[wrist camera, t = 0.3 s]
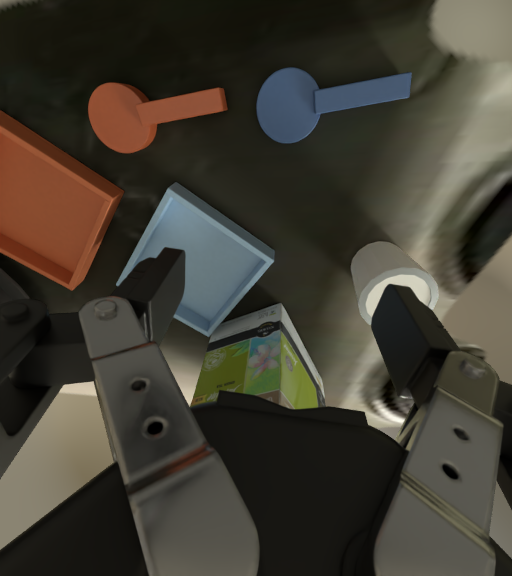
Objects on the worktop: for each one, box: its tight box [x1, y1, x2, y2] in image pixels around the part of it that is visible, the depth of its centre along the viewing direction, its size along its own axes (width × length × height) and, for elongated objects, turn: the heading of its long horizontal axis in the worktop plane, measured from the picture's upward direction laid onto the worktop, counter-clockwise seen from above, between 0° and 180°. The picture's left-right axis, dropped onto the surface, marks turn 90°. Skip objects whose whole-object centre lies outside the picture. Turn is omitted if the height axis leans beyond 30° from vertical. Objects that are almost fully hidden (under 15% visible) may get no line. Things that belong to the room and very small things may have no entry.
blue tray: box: [116, 182, 274, 337], centre depth 33 cm, size 13×12×2 cm
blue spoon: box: [256, 67, 411, 143], centre depth 24 cm, size 12×5×2 cm, turn 100°
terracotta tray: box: [0, 110, 124, 290], centre depth 31 cm, size 13×12×2 cm
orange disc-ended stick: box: [88, 83, 228, 153], centre depth 25 cm, size 12×5×2 cm, turn 100°
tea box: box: [190, 303, 326, 409], centre depth 35 cm, size 15×10×15 cm
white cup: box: [350, 241, 439, 325], centre depth 30 cm, size 7×7×7 cm
